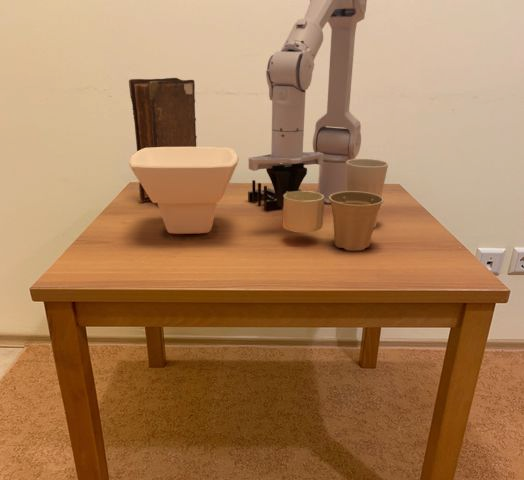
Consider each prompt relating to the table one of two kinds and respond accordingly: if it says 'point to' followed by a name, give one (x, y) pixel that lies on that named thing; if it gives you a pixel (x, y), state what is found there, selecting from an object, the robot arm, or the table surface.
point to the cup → (366, 176)
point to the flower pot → (354, 218)
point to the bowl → (185, 183)
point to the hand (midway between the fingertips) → (285, 206)
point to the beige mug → (303, 211)
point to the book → (163, 114)
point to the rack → (264, 197)
